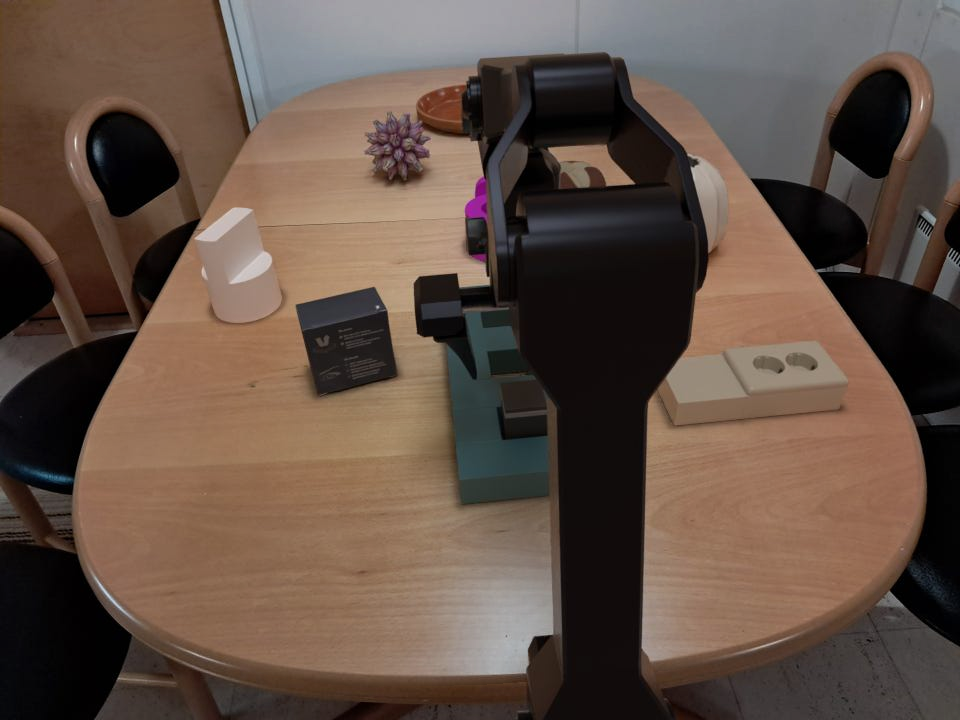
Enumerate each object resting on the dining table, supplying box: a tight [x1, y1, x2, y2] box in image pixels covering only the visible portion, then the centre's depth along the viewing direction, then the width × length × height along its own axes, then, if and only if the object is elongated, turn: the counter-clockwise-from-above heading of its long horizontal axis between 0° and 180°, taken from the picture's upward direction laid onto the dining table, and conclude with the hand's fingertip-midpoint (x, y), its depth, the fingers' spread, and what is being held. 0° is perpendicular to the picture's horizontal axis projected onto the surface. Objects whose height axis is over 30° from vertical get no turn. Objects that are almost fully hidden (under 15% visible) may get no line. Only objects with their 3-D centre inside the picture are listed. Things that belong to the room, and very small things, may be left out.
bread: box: [559, 160, 607, 189], centre depth 115 cm, size 11×11×5 cm
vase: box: [687, 153, 730, 254], centre depth 97 cm, size 14×14×13 cm
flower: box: [363, 109, 432, 182], centre depth 121 cm, size 12×12×12 cm
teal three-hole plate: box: [445, 284, 549, 505], centre depth 77 cm, size 32×14×4 cm, turn 5°
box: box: [295, 286, 398, 397], centre depth 78 cm, size 9×6×10 cm, turn 110°
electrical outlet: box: [657, 340, 850, 427], centre depth 74 cm, size 7×4×18 cm
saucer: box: [415, 84, 469, 135], centre depth 145 cm, size 23×23×4 cm
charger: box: [500, 380, 547, 440], centre depth 69 cm, size 4×4×7 cm
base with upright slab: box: [194, 207, 283, 324], centre depth 90 cm, size 9×9×12 cm
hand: (523, 372), depth 65 cm, fingers open, 9 cm apart
